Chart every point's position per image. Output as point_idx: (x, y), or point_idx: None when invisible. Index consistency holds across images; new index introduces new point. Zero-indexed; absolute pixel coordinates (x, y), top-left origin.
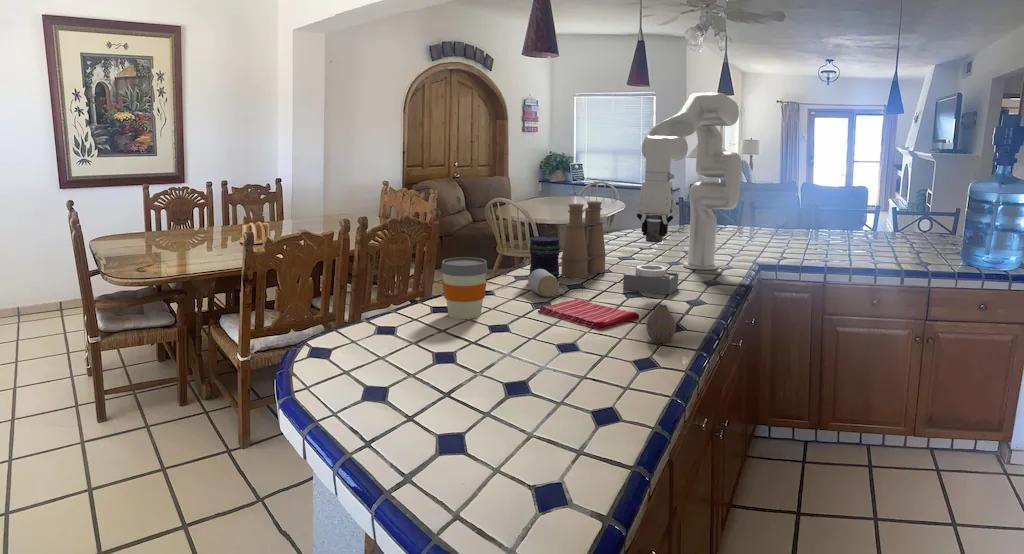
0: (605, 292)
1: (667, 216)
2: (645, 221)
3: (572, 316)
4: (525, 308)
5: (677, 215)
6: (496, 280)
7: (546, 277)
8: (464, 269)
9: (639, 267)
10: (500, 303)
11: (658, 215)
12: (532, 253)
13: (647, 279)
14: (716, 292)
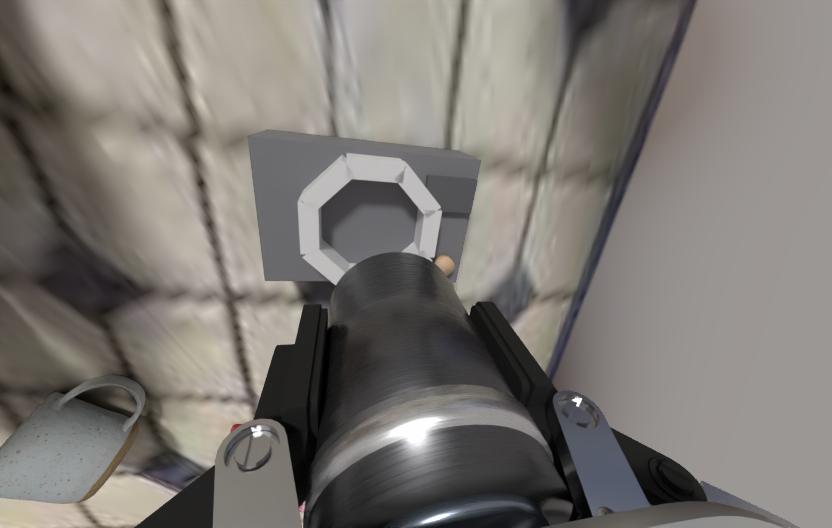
0: (243, 310)
1: (622, 496)
2: (305, 490)
3: (300, 510)
4: (161, 498)
5: (755, 508)
6: None
7: (86, 499)
8: None
9: (318, 251)
10: (71, 503)
11: None
12: None
13: None
14: (582, 155)
